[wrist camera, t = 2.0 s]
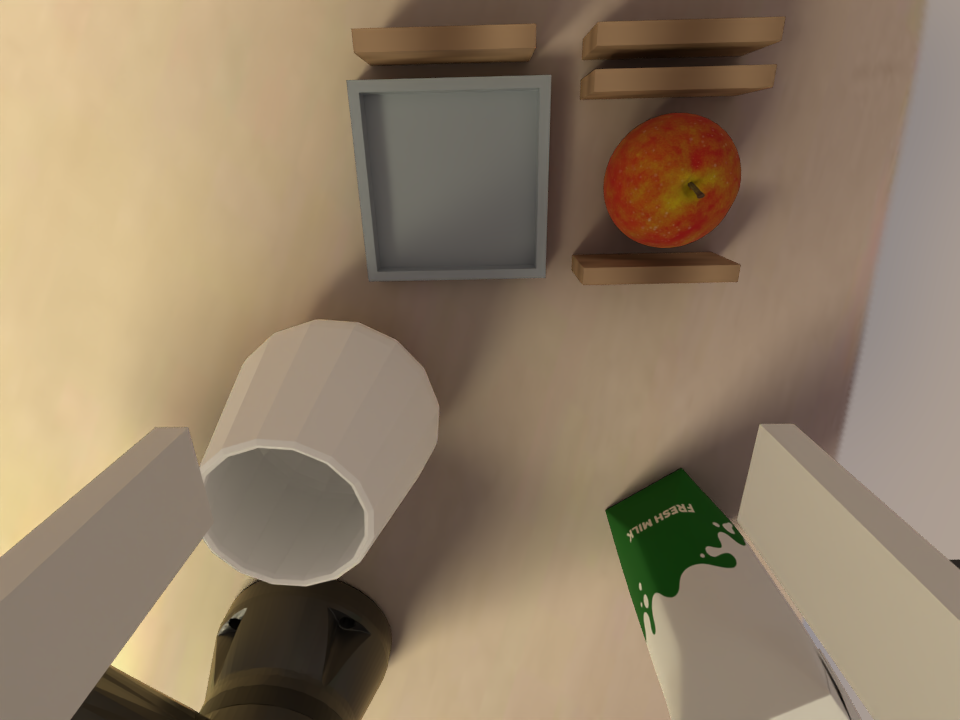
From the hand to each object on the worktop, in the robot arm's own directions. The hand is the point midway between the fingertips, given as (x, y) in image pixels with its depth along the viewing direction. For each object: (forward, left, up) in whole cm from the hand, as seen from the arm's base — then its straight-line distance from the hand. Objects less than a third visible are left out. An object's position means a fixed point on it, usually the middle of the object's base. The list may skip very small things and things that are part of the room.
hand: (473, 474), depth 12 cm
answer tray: (-1, +5, -23) cm, 23 cm away
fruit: (+11, +5, -23) cm, 26 cm away
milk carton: (+15, -21, -23) cm, 34 cm away
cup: (-9, -9, -23) cm, 26 cm away
